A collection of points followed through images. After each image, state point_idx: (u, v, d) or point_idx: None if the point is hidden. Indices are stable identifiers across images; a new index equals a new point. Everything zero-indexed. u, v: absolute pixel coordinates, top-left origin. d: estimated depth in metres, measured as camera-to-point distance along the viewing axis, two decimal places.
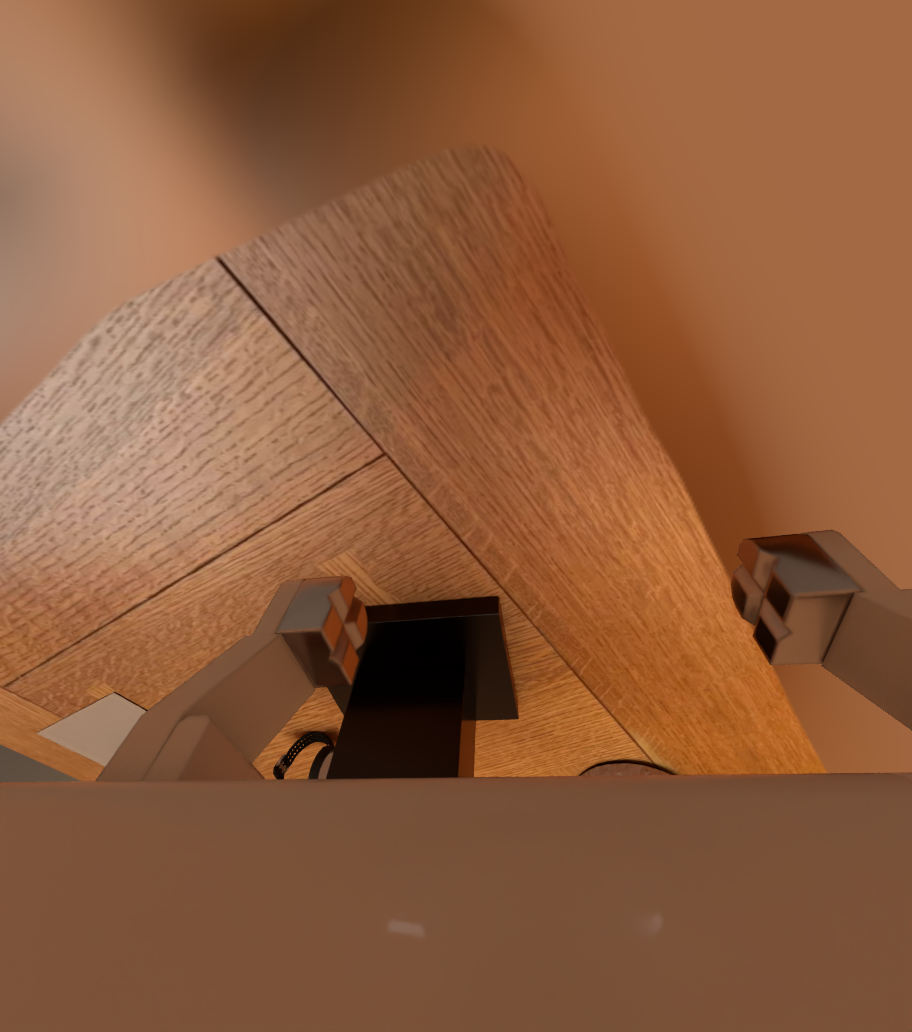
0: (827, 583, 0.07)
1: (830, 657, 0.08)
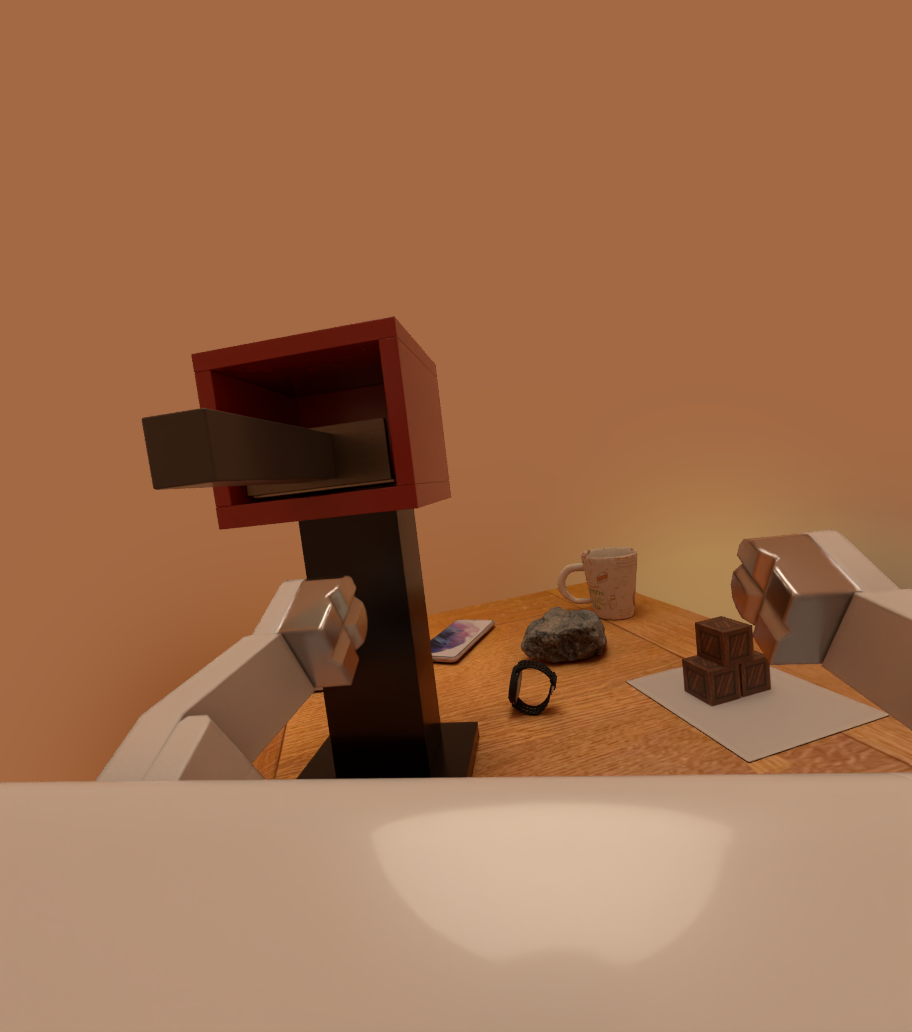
0: (827, 583, 0.07)
1: (830, 656, 0.08)
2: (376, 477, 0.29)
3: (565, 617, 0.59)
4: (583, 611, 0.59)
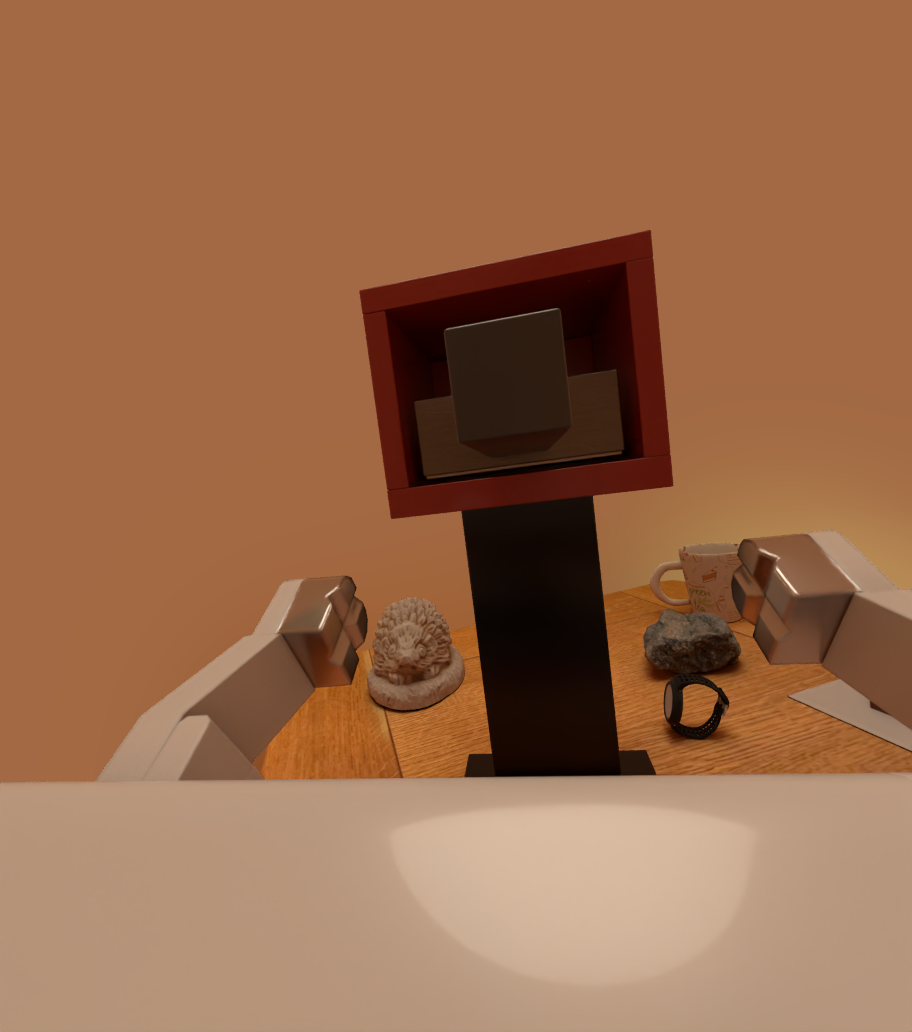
0: (827, 583, 0.07)
1: (831, 657, 0.08)
2: (604, 448, 0.22)
3: (683, 621, 0.53)
4: (704, 614, 0.53)
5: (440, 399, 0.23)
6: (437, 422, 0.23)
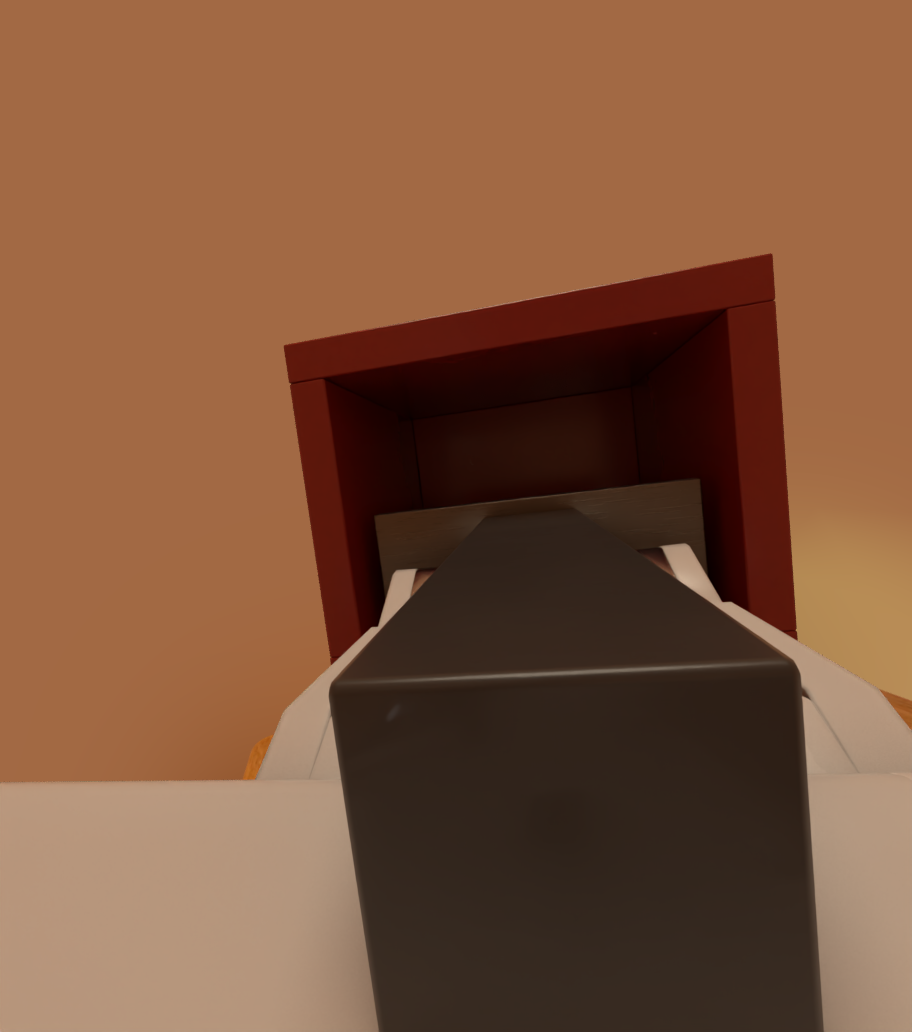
0: None
1: None
2: None
3: None
4: None
5: (414, 514, 0.15)
6: (410, 548, 0.15)
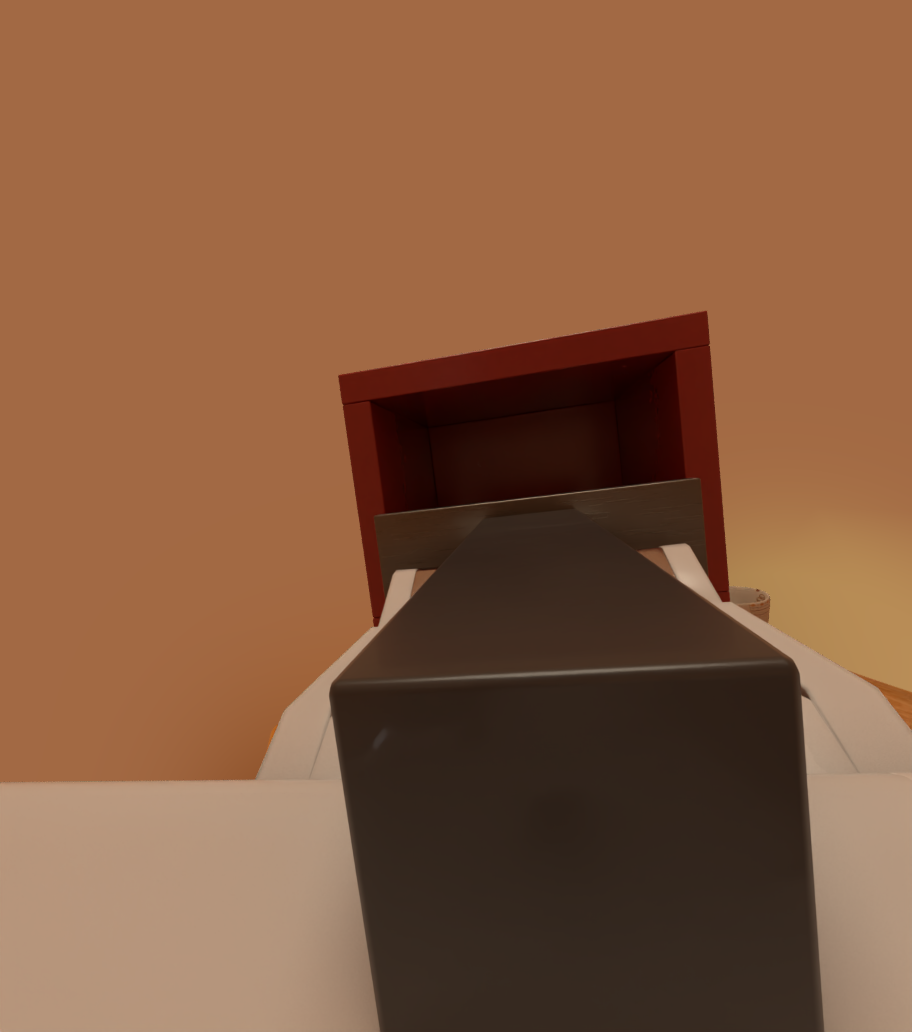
0: None
1: None
2: None
3: None
4: None
5: (414, 514, 0.15)
6: (410, 549, 0.15)
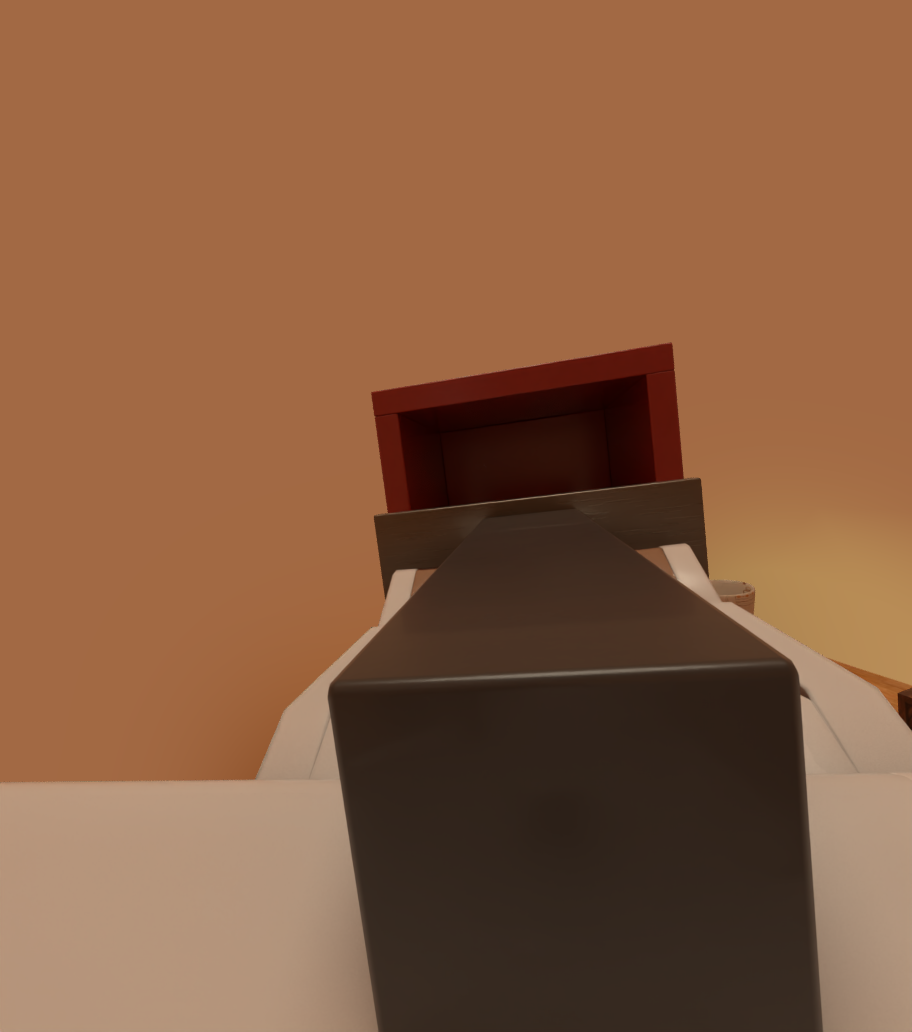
0: None
1: None
2: None
3: None
4: None
5: (414, 514, 0.15)
6: (410, 549, 0.15)
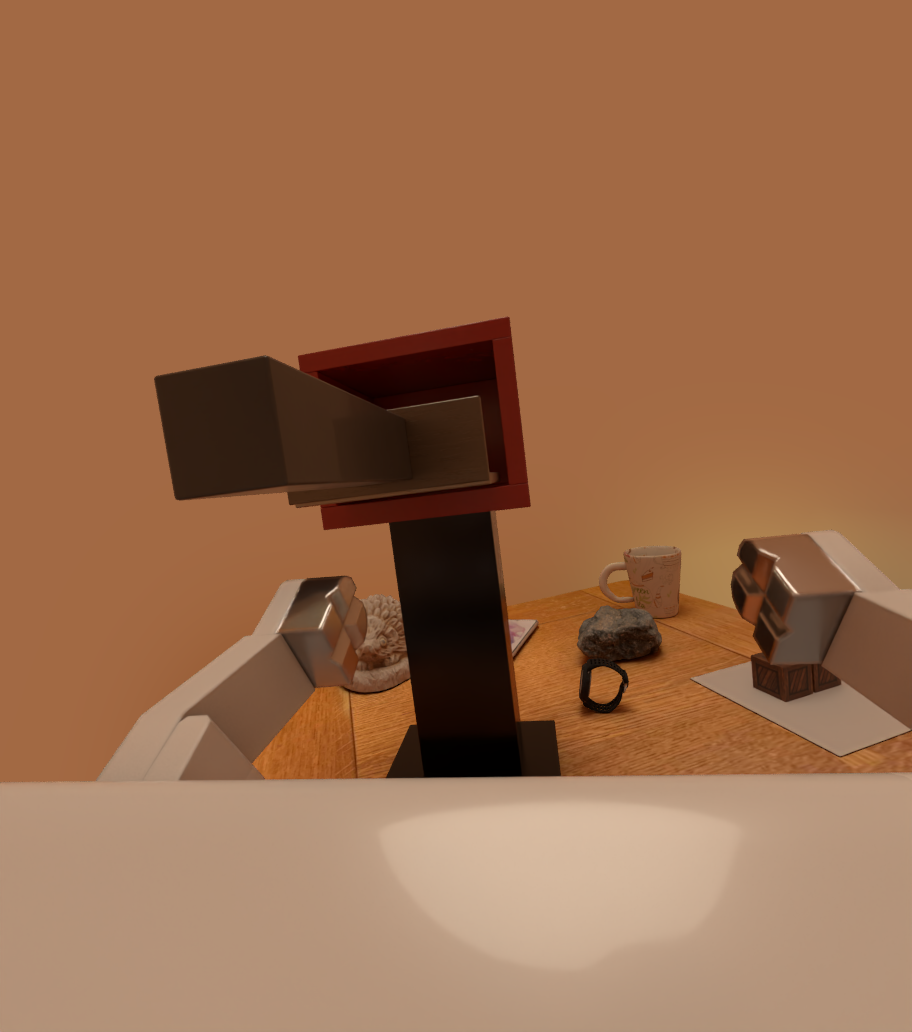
0: (827, 583, 0.07)
1: (830, 656, 0.08)
2: (468, 477, 0.21)
3: (616, 616, 0.60)
4: (634, 609, 0.59)
5: None
6: None
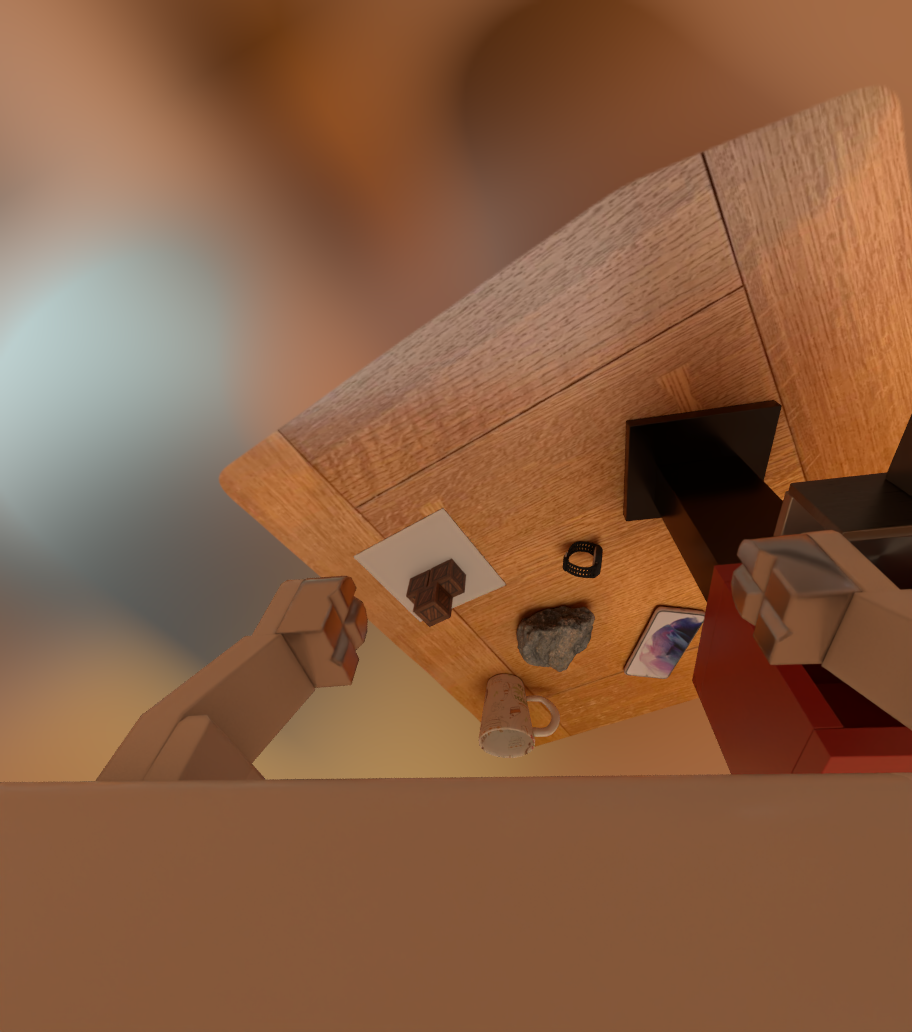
0: (827, 583, 0.07)
1: (830, 656, 0.08)
2: (815, 482, 0.21)
3: (553, 656, 0.62)
4: (535, 662, 0.63)
5: None
6: None
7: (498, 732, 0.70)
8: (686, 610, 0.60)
